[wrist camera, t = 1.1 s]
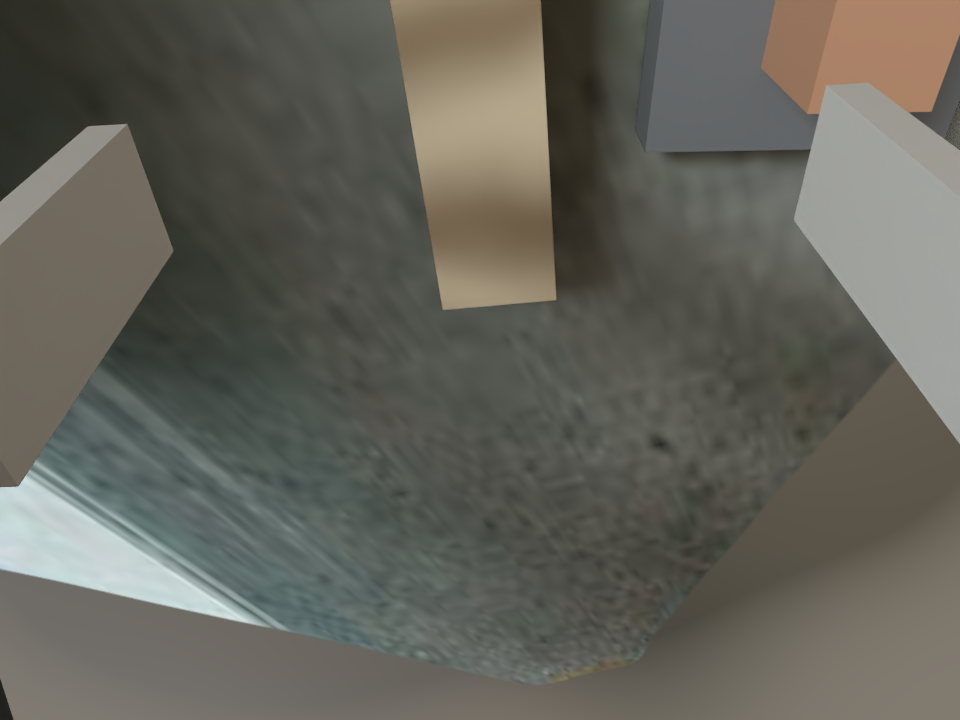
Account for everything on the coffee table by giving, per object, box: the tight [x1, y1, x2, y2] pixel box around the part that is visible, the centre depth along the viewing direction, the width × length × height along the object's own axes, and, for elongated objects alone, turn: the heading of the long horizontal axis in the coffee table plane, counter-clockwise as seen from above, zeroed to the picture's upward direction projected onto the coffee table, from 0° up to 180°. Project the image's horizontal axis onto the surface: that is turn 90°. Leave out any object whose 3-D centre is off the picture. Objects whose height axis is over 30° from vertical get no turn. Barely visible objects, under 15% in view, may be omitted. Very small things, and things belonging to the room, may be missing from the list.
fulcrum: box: [635, 0, 960, 152], centre depth 25 cm, size 12×10×8 cm
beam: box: [390, 0, 556, 310], centre depth 27 cm, size 22×5×5 cm, turn 6°
